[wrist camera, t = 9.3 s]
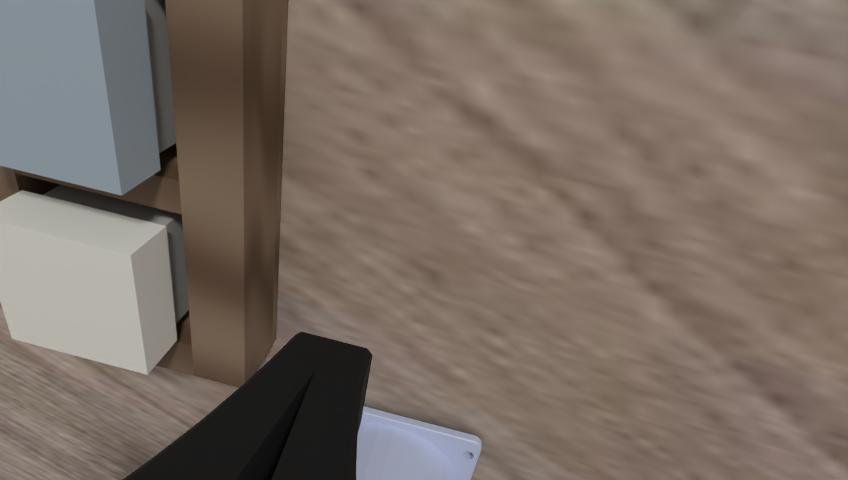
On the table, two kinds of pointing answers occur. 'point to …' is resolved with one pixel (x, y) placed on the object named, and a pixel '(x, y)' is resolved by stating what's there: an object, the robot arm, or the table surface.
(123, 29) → the slate key
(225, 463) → the robot arm
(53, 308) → the ivory key
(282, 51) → the brown long flat frame
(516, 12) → the table surface
